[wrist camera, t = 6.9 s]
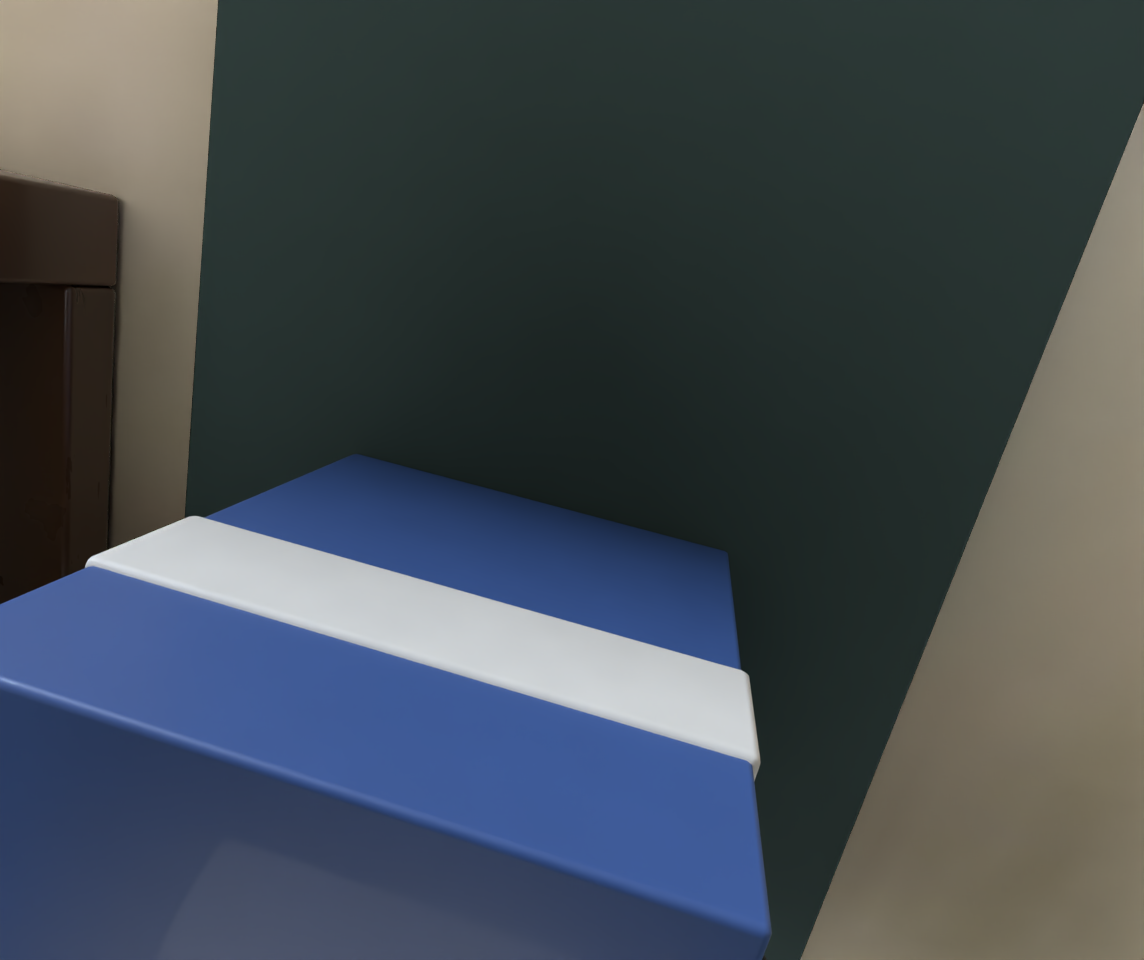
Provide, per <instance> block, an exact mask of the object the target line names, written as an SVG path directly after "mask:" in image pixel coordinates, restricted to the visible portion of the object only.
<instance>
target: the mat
mask: <svg viewBox="0 0 1144 960" xmlns="http://www.w3.org/2000/svg"><path fill="white" fill-rule="evenodd" d="M1143 102H1144V0H218V13H217V28H216V44H215V59H214V74H213V90H212V105H211V121H210V136H209V151H208V167H207V182H206V198H205V213H204V228H203V244H202V259H201V275H200V290H199V305H198V321H197V336H196V352H195V367H194V382H193V398H192V413H191V429H190V444H189V459H188V475H187V490H186V506H185V518H187V517H190V516H199V517H203V518H204V517H207V516H209V515H212V514H214V513H216V512H219V511H221V510H223V509H226V508H228V507H230V506H233V505H235V504H237V503H240V502H242V501H245V500H247V499H249V498H252V497H254V496H256V495H259V494H261V493H263V492H266V491H268V490H270V489H273V488H275V487H277V486H280V485H282V484H285V483H287V482H289V481H292V480H294V479H296V478H299V477H301V476H303V475H306V474H308V473H310V472H313V471H315V470H318V469H320V468H322V467H325V466H327V465H329V464H332V463H334V462H336V461H339V460H341V459H343V458H346V457H348V456H350V455H353V454H359V455H363V456H367V457H371V458H375V459H378V460H382V461H386V462H390V463H393V464H397V465H401V466H405V467H409V468H412V469H416V470H420V471H424V472H428V473H431V474H435V475H439V476H443V477H446V478H450V479H454V480H458V481H462V482H465V483H469V484H473V485H477V486H480V487H484V488H488V489H492V490H496V491H499V492H503V493H507V494H511V495H514V496H518V497H522V498H526V499H530V500H533V501H537V502H541V503H545V504H548V505H552V506H556V507H560V508H564V509H567V510H571V511H575V512H579V513H582V514H586V515H590V516H594V517H598V518H601V519H605V520H609V521H613V522H616V523H620V524H624V525H628V526H632V527H635V528H639V529H643V530H647V531H651V532H654V533H658V534H662V535H666V536H669V537H673V538H677V539H681V540H685V541H688V542H692V543H696V544H700V545H703V546H707V547H711V548H715V549H719V550H722V551H725V552H727V553H728V560H729V569H730V577H731V586H732V594H733V603H734V612H735V620H736V629H737V637H738V646H739V655H740V663H741V670H742V671H744V672H745V673H747V674H748V675H749V680H750V687H751V694H752V702H753V709H754V717H755V724H756V731H757V739H758V746H759V754H760V761H761V763H760V766H759V769H758V772H757V775H756V778H755V781H754V784H755V792H756V801H757V810H758V818H759V827H760V836H761V844H762V853H763V861H764V870H765V879H766V887H767V896H768V904H769V913H770V922H771V930H772V935H771V937H770V940H769V943H768V945H767V948H766V950H765V953H764V955H765V957H766V959H767V960H800V958H801V956H802V953H803V951H804V948H805V946H806V944H807V941H808V939H809V936H810V934H811V931H812V929H813V926H814V924H815V921H816V919H817V916H818V914H819V911H820V909H821V906H822V904H823V901H824V899H825V896H826V894H827V891H828V889H829V886H830V884H831V881H832V879H833V876H834V874H835V871H836V869H837V866H838V864H839V861H840V859H841V856H842V854H843V851H844V849H845V846H846V844H847V841H848V839H849V836H850V834H851V831H852V829H853V826H854V824H855V821H856V819H857V816H858V814H859V811H860V809H861V806H862V804H863V801H864V799H865V796H866V794H867V791H868V789H869V786H870V784H871V781H872V779H873V776H874V774H875V771H876V769H877V766H878V764H879V761H880V759H881V756H882V754H883V751H884V749H885V746H886V744H887V741H888V739H889V736H890V734H891V731H892V729H893V726H894V724H895V721H896V719H897V716H898V714H899V711H900V709H901V706H902V704H903V701H904V699H905V696H906V694H907V691H908V689H909V686H910V684H911V681H912V679H913V676H914V674H915V671H916V669H917V666H918V664H919V661H920V659H921V656H922V654H923V652H924V649H925V647H926V644H927V642H928V639H929V637H930V634H931V632H932V629H933V627H934V624H935V622H936V619H937V617H938V614H939V612H940V609H941V607H942V604H943V602H944V599H945V597H946V594H947V592H948V589H949V587H950V584H951V582H952V579H953V577H954V574H955V572H956V569H957V567H958V564H959V562H960V559H961V557H962V554H963V552H964V549H965V547H966V544H967V542H968V539H969V537H970V534H971V532H972V529H973V527H974V524H975V522H976V519H977V517H978V514H979V512H980V509H981V507H982V504H983V502H984V499H985V497H986V494H987V492H988V489H989V487H990V484H991V482H992V479H993V477H994V474H995V472H996V469H997V467H998V464H999V462H1000V459H1001V457H1002V454H1003V452H1004V449H1005V447H1006V444H1007V442H1008V439H1009V437H1010V434H1011V432H1012V429H1013V427H1014V424H1015V422H1016V419H1017V417H1018V414H1019V412H1020V409H1021V407H1022V404H1023V402H1024V399H1025V397H1026V394H1027V392H1028V389H1029V387H1030V384H1031V382H1032V379H1033V377H1034V374H1035V372H1036V369H1037V367H1038V364H1039V362H1040V360H1041V357H1042V355H1043V352H1044V350H1045V347H1046V345H1047V342H1048V340H1049V337H1050V335H1051V332H1052V330H1053V327H1054V325H1055V322H1056V320H1057V317H1058V315H1059V312H1060V310H1061V307H1062V305H1063V302H1064V300H1065V297H1066V295H1067V292H1068V290H1069V287H1070V285H1071V282H1072V280H1073V277H1074V275H1075V272H1076V270H1077V267H1078V265H1079V262H1080V260H1081V257H1082V255H1083V252H1084V250H1085V247H1086V245H1087V242H1088V240H1089V237H1090V235H1091V232H1092V230H1093V227H1094V225H1095V222H1096V220H1097V217H1098V215H1099V212H1100V210H1101V207H1102V205H1103V202H1104V200H1105V197H1106V195H1107V192H1108V190H1109V187H1110V185H1111V182H1112V180H1113V177H1114V175H1115V172H1116V170H1117V167H1118V165H1119V162H1120V160H1121V157H1122V155H1123V152H1124V150H1125V147H1126V145H1127V142H1128V140H1129V137H1130V135H1131V132H1132V130H1133V127H1134V125H1135V122H1136V120H1137V117H1138V115H1139V112H1140V110H1141V107H1142V105H1143Z"/></svg>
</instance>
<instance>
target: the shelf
mask: <svg viewBox="0 0 1144 960" xmlns="http://www.w3.org/2000/svg"><path fill="white" fill-rule="evenodd" d="M118 213H119V202H118V199H117V198H116V197H114V196H113V195H110V194H105V193H101V192H97V191H92V190H88V189H84V188H79V187H75V186H70V185H66V184H62V183H57V182H53V181H49V180H44V179H40V178H36V177H31V176H27V175H22V174H18V173H14V172H9V171H5V170H1V169H0V604H2V603H4V602H7V601H9V600H11V599H14V598H16V597H18V596H21V595H23V594H26V593H28V592H30V591H33V590H35V589H37V588H40V587H42V586H44V585H47V584H49V583H51V582H54V581H56V580H58V579H61V578H63V577H66V576H68V575H70V574H73V573H75V572H77V571H80V570H82V569H84V568H85V565H86V563H87V561H88V559H90V558H91V557H92V556H94V555H97V554H99V553H102V552H104V551H106V550H107V539H108V508H109V478H110V447H111V416H112V385H113V355H114V324H115V291H114V290H113V289H112V288H110V287H109V286H113V285H115V283H116V274H117V243H118Z"/></svg>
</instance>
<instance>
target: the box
mask: <svg viewBox="0 0 1144 960" xmlns="http://www.w3.org/2000/svg"><path fill="white" fill-rule="evenodd" d="M760 763H761V761H760V754H759V746H758V739H757V731H756V724H755V717H754V709H753V702H752V694H751V687H750V680H749V675H748V674H747V673H745V672H744V671H742V670H741V663H740V655H739V646H738V637H737V629H736V620H735V612H734V603H733V594H732V586H731V577H730V569H729V560H728V553H727V552H725V551H722V550H719V549H715V548H711V547H707V546H703V545H700V544H696V543H692V542H688V541H685V540H681V539H677V538H673V537H669V536H666V535H662V534H658V533H654V532H651V531H647V530H643V529H639V528H635V527H632V526H628V525H624V524H620V523H616V522H613V521H609V520H605V519H601V518H598V517H594V516H590V515H586V514H582V513H579V512H575V511H571V510H567V509H564V508H560V507H556V506H552V505H548V504H545V503H541V502H537V501H533V500H530V499H526V498H522V497H518V496H514V495H511V494H507V493H503V492H499V491H496V490H492V489H488V488H484V487H480V486H477V485H473V484H469V483H465V482H462V481H458V480H454V479H450V478H446V477H443V476H439V475H435V474H431V473H428V472H424V471H420V470H416V469H412V468H409V467H405V466H401V465H397V464H393V463H390V462H386V461H382V460H378V459H375V458H371V457H367V456H363V455H359V454H353V455H350V456H348V457H346V458H343V459H341V460H339V461H336V462H334V463H332V464H329V465H327V466H325V467H322V468H320V469H318V470H315V471H313V472H310V473H308V474H306V475H303V476H301V477H299V478H296V479H294V480H292V481H289V482H287V483H285V484H282V485H280V486H277V487H275V488H273V489H270V490H268V491H266V492H263V493H261V494H259V495H256V496H254V497H252V498H249V499H247V500H245V501H242V502H240V503H237V504H235V505H233V506H230V507H228V508H226V509H223V510H221V511H219V512H216V513H214V514H212V515H209V516H207V517H204V518H203V517H199V516H190V517H187V518H184V519H182V520H180V521H177V522H175V523H172V524H170V525H167V526H165V527H163V528H160V529H158V530H155V531H153V532H150V533H148V534H145V535H143V536H141V537H138V538H136V539H133V540H131V541H128V542H126V543H124V544H121V545H119V546H116V547H114V548H111V549H109V550H106V551H104V552H102V553H99V554H97V555H94V556H92V557H91V558H90V559H88V561H87V563H86V565H85V568H84V569H82V570H80V571H77V572H75V573H73V574H70V575H68V576H66V577H63V578H61V579H58V580H56V581H54V582H51V583H49V584H47V585H44V586H42V587H40V588H37V589H35V590H33V591H30V592H28V593H26V594H23V595H21V596H18V597H16V598H14V599H11V600H9V601H7V602H4V603H2V604H0V960H762V958H763V956H764V953H765V950H766V948H767V945H768V943H769V940H770V937H771V935H772V930H771V922H770V913H769V904H768V896H767V887H766V879H765V870H764V861H763V853H762V844H761V836H760V827H759V818H758V810H757V801H756V792H755V784H754V781H755V778H756V775H757V772H758V769H759V766H760Z"/></svg>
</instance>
